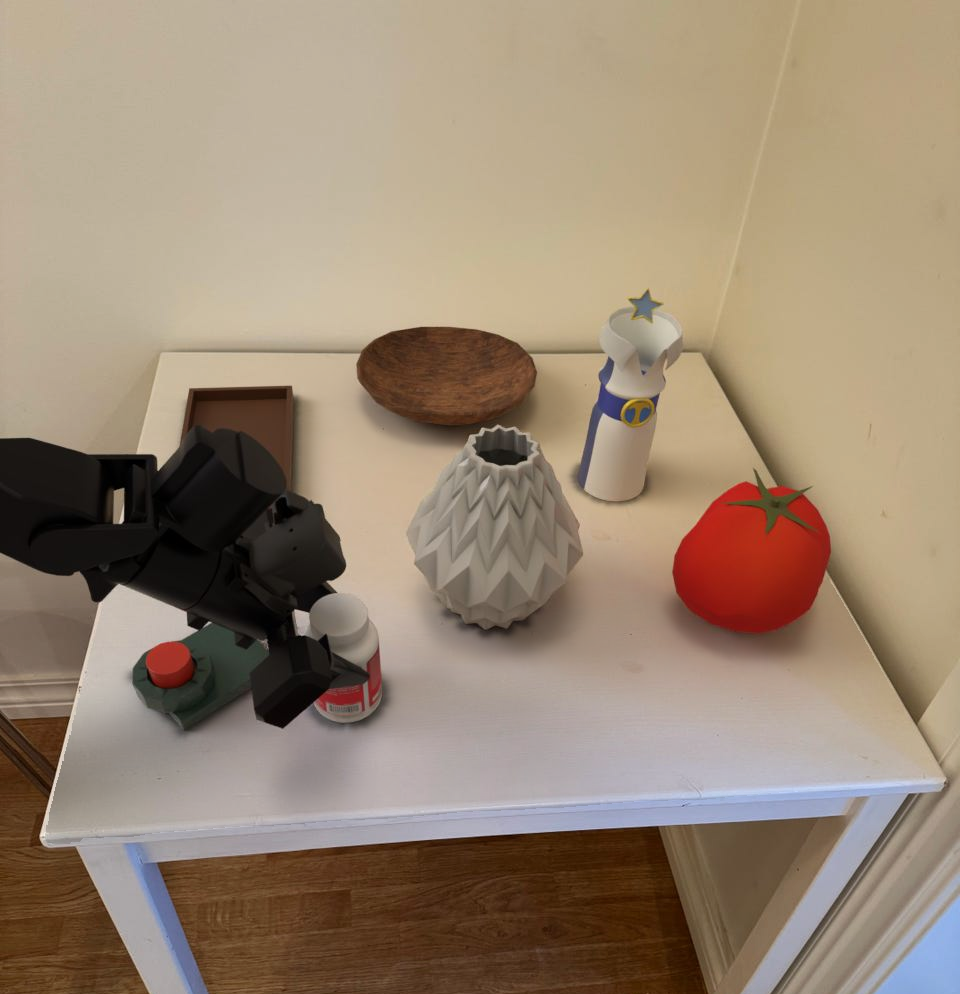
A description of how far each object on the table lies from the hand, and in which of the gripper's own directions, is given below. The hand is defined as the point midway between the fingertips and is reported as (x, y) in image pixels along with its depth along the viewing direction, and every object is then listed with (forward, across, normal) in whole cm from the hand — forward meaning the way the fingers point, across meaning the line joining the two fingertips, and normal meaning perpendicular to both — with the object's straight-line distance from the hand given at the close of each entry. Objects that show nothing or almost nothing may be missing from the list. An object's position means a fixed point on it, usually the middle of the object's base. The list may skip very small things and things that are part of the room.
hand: (359, 646), depth 72 cm
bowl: (+18, +43, -8) cm, 47 cm away
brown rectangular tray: (-1, +32, +11) cm, 34 cm away
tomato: (+31, +2, -22) cm, 38 cm away
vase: (+15, +9, -5) cm, 18 cm away
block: (-4, +6, +14) cm, 16 cm away
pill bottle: (+4, 0, +6) cm, 7 cm away
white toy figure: (+28, +24, -19) cm, 42 cm away
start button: (-8, +4, +14) cm, 17 cm away
